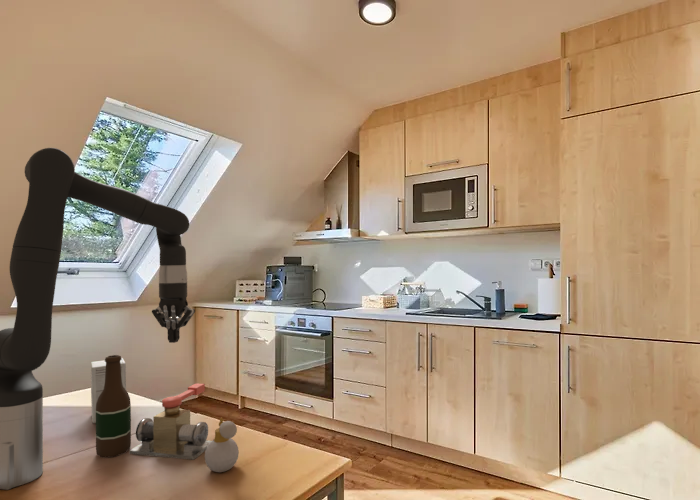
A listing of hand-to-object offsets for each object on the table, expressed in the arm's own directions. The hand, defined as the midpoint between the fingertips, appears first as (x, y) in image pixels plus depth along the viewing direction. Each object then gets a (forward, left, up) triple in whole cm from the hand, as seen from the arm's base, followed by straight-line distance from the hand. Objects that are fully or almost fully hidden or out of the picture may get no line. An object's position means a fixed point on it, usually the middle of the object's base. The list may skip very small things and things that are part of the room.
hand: (173, 342), depth 124 cm
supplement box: (+7, +28, -25) cm, 38 cm away
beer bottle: (-15, +7, -25) cm, 30 cm away
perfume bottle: (-19, -26, -25) cm, 41 cm away
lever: (-6, -7, -14) cm, 17 cm away
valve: (-11, -7, -25) cm, 28 cm away
